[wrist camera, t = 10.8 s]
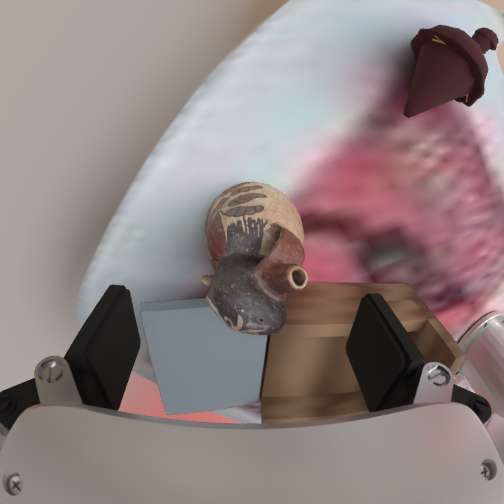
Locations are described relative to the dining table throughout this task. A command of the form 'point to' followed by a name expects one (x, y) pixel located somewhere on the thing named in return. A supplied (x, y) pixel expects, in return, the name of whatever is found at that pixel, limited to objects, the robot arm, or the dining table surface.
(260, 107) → the dining table surface
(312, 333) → the brown wooden box
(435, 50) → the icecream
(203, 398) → the panel
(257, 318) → the figurine
